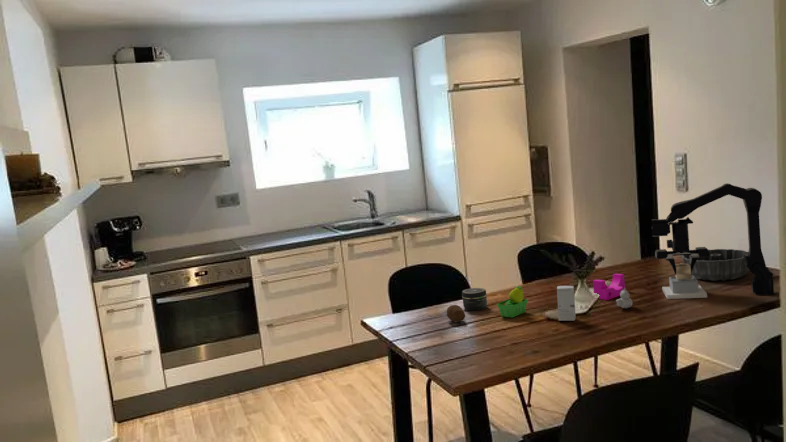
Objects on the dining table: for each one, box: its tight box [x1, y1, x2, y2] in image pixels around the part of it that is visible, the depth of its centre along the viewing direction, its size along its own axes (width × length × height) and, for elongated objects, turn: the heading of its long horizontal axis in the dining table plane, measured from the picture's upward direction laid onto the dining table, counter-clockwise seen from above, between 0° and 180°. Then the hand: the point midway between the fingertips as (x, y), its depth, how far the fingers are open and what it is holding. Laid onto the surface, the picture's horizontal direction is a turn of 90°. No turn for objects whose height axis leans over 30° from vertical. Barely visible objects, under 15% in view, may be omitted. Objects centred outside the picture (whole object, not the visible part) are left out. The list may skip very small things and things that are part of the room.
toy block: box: [592, 273, 626, 301], centre depth 255 cm, size 15×6×8 cm, turn 124°
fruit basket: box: [496, 285, 529, 319], centre depth 243 cm, size 11×9×11 cm
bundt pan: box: [681, 248, 749, 282], centre depth 266 cm, size 26×26×10 cm
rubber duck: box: [615, 288, 633, 309], centre depth 235 cm, size 5×7×8 cm
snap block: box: [674, 262, 691, 279], centre depth 245 cm, size 5×5×6 cm
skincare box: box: [556, 285, 577, 322], centre depth 228 cm, size 6×4×12 cm
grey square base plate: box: [661, 276, 708, 300], centre depth 245 cm, size 14×14×6 cm
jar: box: [461, 287, 488, 312], centre depth 258 cm, size 10×10×8 cm
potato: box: [446, 304, 466, 323], centre depth 243 cm, size 7×10×6 cm
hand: (683, 274), depth 245 cm, fingers closed on snap block, 5 cm apart
